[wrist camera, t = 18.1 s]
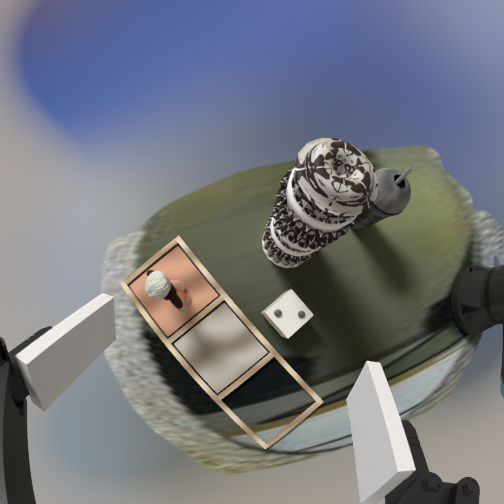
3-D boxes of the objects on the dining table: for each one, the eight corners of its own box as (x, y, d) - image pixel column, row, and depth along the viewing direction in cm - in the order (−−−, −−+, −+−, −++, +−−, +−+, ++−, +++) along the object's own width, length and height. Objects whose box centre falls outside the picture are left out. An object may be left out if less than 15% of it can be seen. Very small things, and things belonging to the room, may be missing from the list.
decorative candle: (247, 238, 46) (268, 153, 22) (289, 206, 48) (339, 111, 24) (284, 281, 45) (346, 239, 21) (324, 246, 47) (406, 180, 23)
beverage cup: (379, 229, 49) (446, 184, 29) (349, 243, 47) (414, 198, 28) (362, 195, 50) (418, 138, 30) (331, 206, 49) (383, 146, 29)
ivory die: (304, 315, 44) (314, 314, 38) (281, 336, 43) (288, 338, 37) (284, 292, 44) (292, 288, 39) (260, 312, 43) (265, 312, 38)
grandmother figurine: (202, 297, 43) (191, 288, 31) (188, 317, 42) (171, 316, 30) (163, 268, 44) (140, 249, 31) (150, 287, 43) (121, 275, 30)
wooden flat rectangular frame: (322, 401, 41) (323, 401, 40) (264, 447, 38) (265, 449, 37) (179, 236, 45) (178, 235, 45) (121, 284, 43) (120, 283, 42)
